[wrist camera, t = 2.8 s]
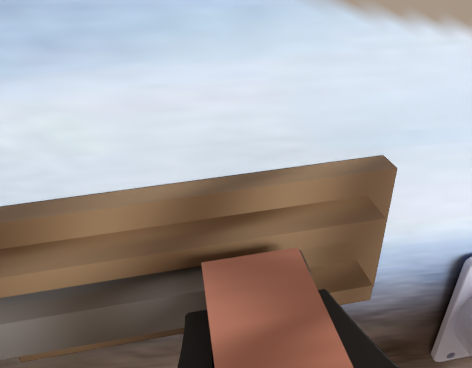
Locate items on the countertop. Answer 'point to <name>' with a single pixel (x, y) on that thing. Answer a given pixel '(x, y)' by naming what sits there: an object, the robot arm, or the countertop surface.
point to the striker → (180, 304)
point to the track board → (203, 231)
